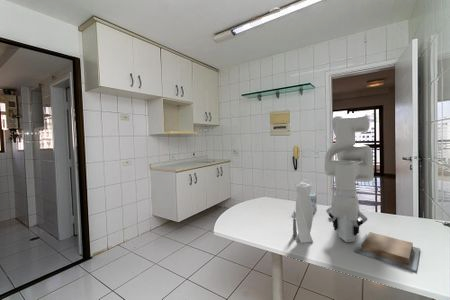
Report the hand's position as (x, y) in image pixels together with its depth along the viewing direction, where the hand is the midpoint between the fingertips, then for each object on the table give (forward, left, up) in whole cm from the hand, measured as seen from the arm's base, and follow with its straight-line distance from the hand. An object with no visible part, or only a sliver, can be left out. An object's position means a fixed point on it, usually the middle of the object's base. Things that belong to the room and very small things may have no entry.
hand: (345, 231), depth 90 cm
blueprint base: (+14, +1, -4) cm, 15 cm away
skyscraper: (-14, -11, -5) cm, 18 cm away
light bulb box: (-29, +24, -4) cm, 38 cm away
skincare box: (0, 0, -4) cm, 4 cm away
